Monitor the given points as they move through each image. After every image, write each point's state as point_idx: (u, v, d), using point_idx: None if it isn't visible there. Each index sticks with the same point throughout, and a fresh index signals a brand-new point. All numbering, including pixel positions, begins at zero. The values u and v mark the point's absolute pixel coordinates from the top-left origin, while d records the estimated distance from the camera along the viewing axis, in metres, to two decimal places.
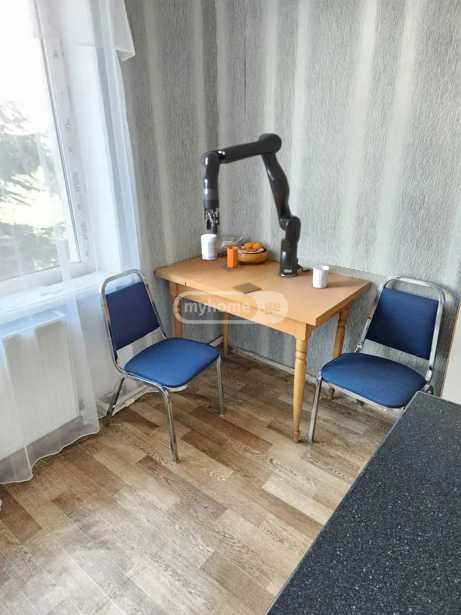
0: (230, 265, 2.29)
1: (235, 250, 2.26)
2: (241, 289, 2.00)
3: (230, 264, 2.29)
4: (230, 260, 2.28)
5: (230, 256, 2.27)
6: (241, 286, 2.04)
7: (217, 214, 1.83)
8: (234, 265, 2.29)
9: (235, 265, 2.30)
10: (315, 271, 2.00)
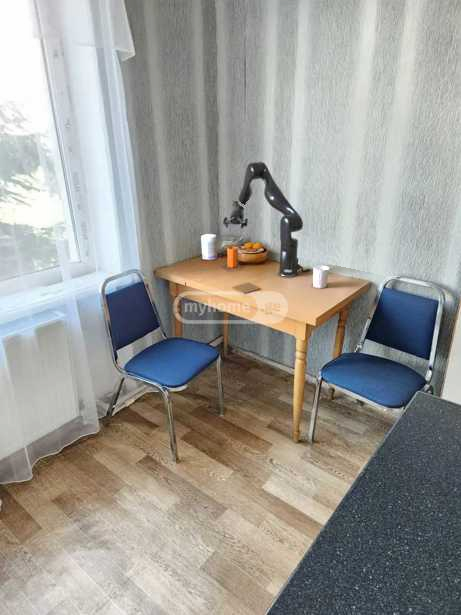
0: (230, 265, 2.29)
1: (235, 250, 2.26)
2: (241, 289, 2.00)
3: (230, 264, 2.29)
4: (230, 260, 2.28)
5: (230, 256, 2.27)
6: (241, 286, 2.04)
7: None
8: (234, 265, 2.29)
9: (235, 265, 2.30)
10: (315, 271, 2.00)
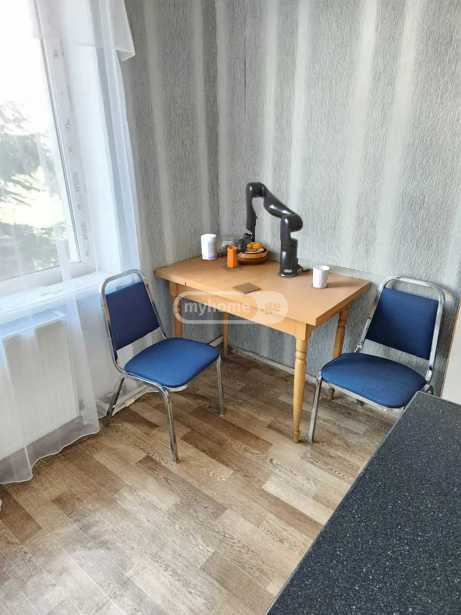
0: (230, 265, 2.29)
1: (235, 250, 2.26)
2: (241, 289, 2.00)
3: (230, 264, 2.29)
4: (230, 260, 2.28)
5: (230, 257, 2.27)
6: (241, 286, 2.04)
7: None
8: (234, 265, 2.29)
9: (235, 265, 2.30)
10: (315, 271, 2.00)
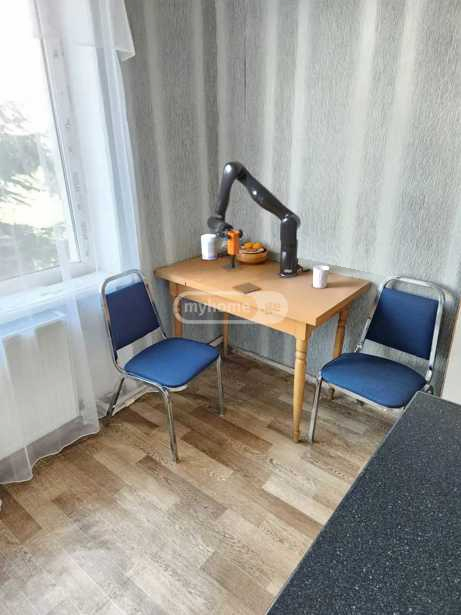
0: (235, 252, 2.02)
1: (239, 234, 2.00)
2: (241, 289, 2.00)
3: (235, 251, 2.02)
4: (235, 246, 2.01)
5: (235, 242, 2.00)
6: (241, 286, 2.04)
7: (217, 233, 2.05)
8: (238, 251, 2.04)
9: None
10: (315, 271, 2.00)
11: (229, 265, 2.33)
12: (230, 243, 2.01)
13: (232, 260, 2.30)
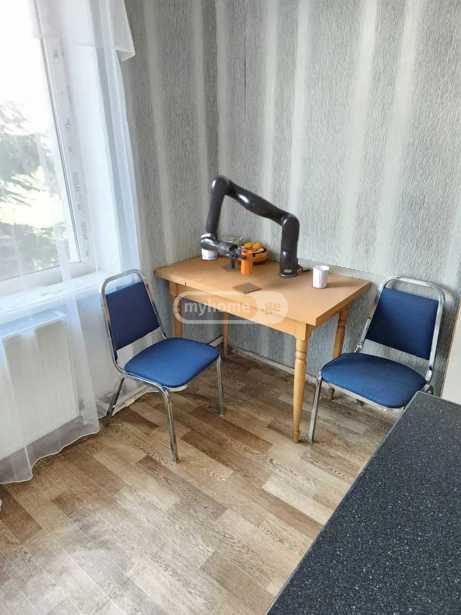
0: (250, 272, 1.96)
1: (252, 253, 1.95)
2: (241, 289, 2.00)
3: (250, 270, 1.96)
4: (250, 266, 1.95)
5: (250, 262, 1.94)
6: (241, 286, 2.04)
7: (228, 254, 1.96)
8: None
9: None
10: (315, 271, 2.00)
11: (229, 265, 2.33)
12: (245, 263, 1.94)
13: (232, 260, 2.30)
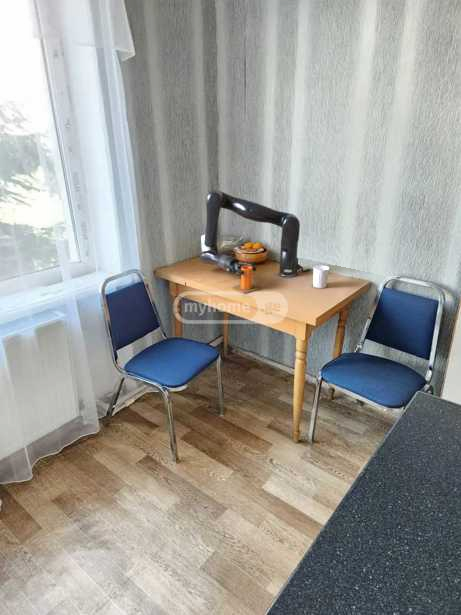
0: (249, 287, 2.00)
1: None
2: (241, 289, 2.00)
3: (250, 286, 2.00)
4: (250, 281, 1.99)
5: (250, 277, 1.98)
6: None
7: (227, 268, 1.99)
8: None
9: None
10: (315, 271, 2.00)
11: None
12: (245, 279, 1.98)
13: None
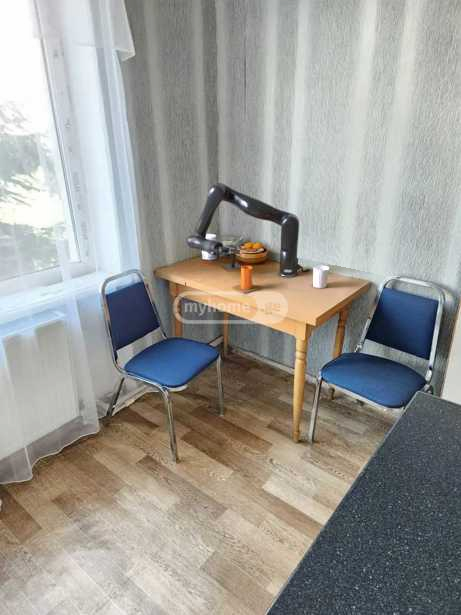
0: (249, 287, 2.00)
1: None
2: (241, 289, 2.00)
3: (250, 286, 2.00)
4: (250, 281, 1.99)
5: (250, 277, 1.98)
6: None
7: (211, 252, 2.06)
8: None
9: None
10: (315, 271, 2.00)
11: (229, 265, 2.33)
12: (245, 279, 1.98)
13: (232, 260, 2.30)
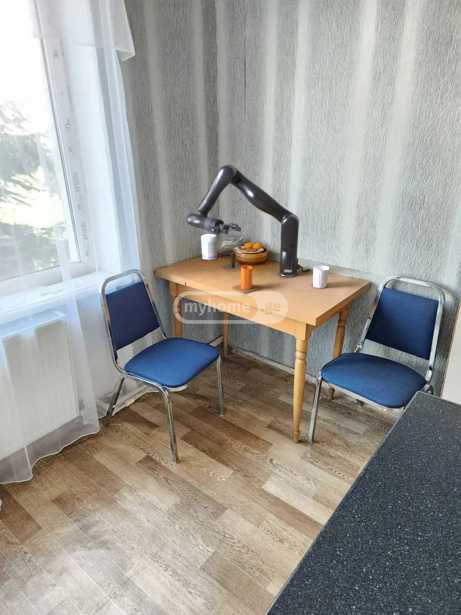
0: (249, 287, 2.00)
1: None
2: (241, 289, 2.00)
3: (250, 286, 2.00)
4: (250, 281, 1.99)
5: (250, 277, 1.98)
6: None
7: (211, 229, 2.01)
8: None
9: None
10: (315, 271, 2.00)
11: (229, 265, 2.33)
12: (245, 279, 1.98)
13: (232, 260, 2.30)
